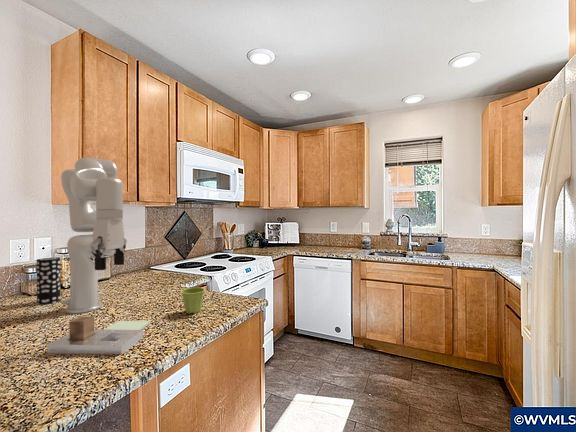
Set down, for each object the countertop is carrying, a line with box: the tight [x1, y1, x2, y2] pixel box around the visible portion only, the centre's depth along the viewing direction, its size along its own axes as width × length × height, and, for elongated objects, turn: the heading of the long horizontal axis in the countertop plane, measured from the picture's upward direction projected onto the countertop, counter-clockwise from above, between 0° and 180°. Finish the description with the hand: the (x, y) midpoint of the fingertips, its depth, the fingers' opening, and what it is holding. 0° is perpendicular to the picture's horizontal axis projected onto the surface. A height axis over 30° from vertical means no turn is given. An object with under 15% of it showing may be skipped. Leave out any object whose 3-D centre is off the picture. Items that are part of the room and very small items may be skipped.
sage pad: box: [103, 320, 151, 330], centre depth 100 cm, size 12×9×1 cm
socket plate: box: [47, 328, 144, 355], centre depth 87 cm, size 22×11×2 cm, turn 88°
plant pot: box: [180, 287, 206, 314], centre depth 117 cm, size 9×9×9 cm
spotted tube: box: [36, 257, 61, 306], centre depth 131 cm, size 8×8×20 cm
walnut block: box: [68, 315, 95, 341], centre depth 87 cm, size 4×4×8 cm
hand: (110, 267), depth 94 cm, fingers open, 9 cm apart
